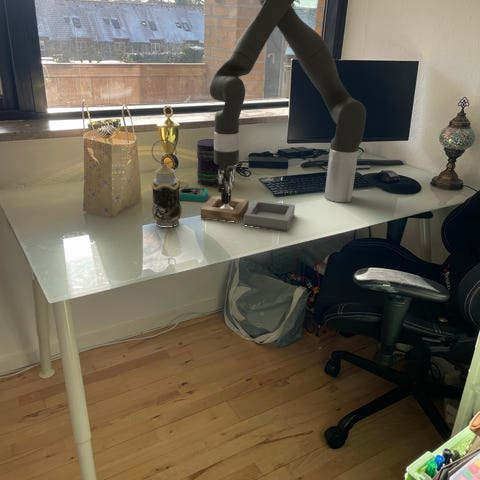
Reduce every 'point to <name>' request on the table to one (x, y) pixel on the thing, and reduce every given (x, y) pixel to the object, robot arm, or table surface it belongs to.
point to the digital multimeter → (193, 194)
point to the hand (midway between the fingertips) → (226, 201)
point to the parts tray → (269, 215)
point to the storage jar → (206, 163)
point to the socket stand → (215, 212)
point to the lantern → (166, 195)
